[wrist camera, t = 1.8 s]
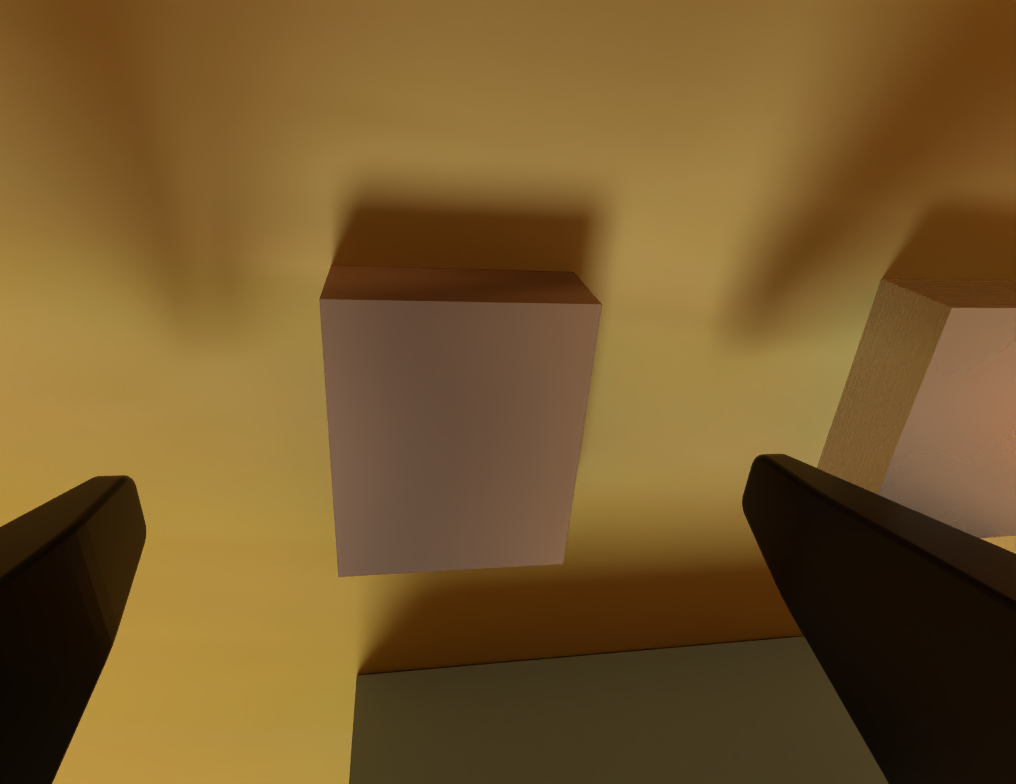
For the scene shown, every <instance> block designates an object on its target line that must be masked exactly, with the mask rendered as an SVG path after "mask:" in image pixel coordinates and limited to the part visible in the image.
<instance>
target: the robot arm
mask: <svg viewBox="0 0 1016 784" xmlns="http://www.w3.org/2000/svg"><path fill="white" fill-rule="evenodd" d="M742 506H743V511H744V514H745V516H746V519H747V521H748V523H749V525H750V528H751V530H752V532H753V534H754V537H755V539H756V541H757V543H758V546H759V548H760V550H761V552H762V555H763V557H764V559H765V561H766V564H767V566H768V568H769V570H770V573H771V575H772V577H773V579H774V582H775V584H776V586H777V588H778V590H779V592H780V594H781V596H782V598H783V600H784V602H785V604H786V605H787V607H788V609H789V611H790V613H791V614H792V616H793V618H794V620H795V621H796V623H797V625H798V627H799V628H800V630H801V632H802V634H803V635H804V637H805V639H806V641H807V642H808V644H809V646H810V647H811V649H812V651H813V653H814V654H815V656H816V658H817V660H818V661H819V663H820V665H821V667H822V668H823V670H824V672H825V674H826V675H827V677H828V679H829V681H830V682H831V684H832V686H833V688H834V689H835V691H836V693H837V695H838V696H839V698H840V700H841V702H842V703H843V705H844V707H845V709H846V710H847V712H848V714H849V715H850V717H851V719H852V721H853V722H854V724H855V726H856V728H857V729H858V731H859V733H860V735H861V736H862V738H863V740H864V742H865V743H866V745H867V747H868V749H869V750H870V752H871V754H872V756H873V757H874V759H875V761H876V763H877V764H878V766H879V768H880V770H881V771H882V773H883V775H884V777H885V778H886V780H887V782H888V784H1016V554H1015V553H1013V552H1010V551H1008V550H1006V549H1003V548H1001V547H999V546H996V545H994V544H992V543H989V542H987V541H985V540H982V539H980V538H978V537H975V536H973V535H971V534H968V533H966V532H964V531H961V530H959V529H957V528H955V527H952V526H950V525H948V524H945V523H943V522H941V521H938V520H936V519H934V518H931V517H929V516H927V515H924V514H922V513H920V512H917V511H915V510H913V509H910V508H908V507H906V506H903V505H901V504H899V503H897V502H894V501H892V500H890V499H887V498H885V497H883V496H880V495H878V494H876V493H873V492H871V491H869V490H866V489H864V488H862V487H859V486H857V485H855V484H852V483H850V482H848V481H845V480H843V479H841V478H838V477H836V476H834V475H832V474H829V473H827V472H825V471H822V470H820V469H818V468H815V467H813V466H811V465H808V464H806V463H804V462H801V461H799V460H797V459H794V458H792V457H790V456H787V455H785V454H762V455H759V456H757V457H756V458H755V459H754V461H753V463H752V466H751V470H750V473H749V477H748V480H747V484H746V487H745V490H744V494H743V499H742ZM145 539H146V524H145V520H144V516H143V512H142V508H141V504H140V500H139V496H138V492H137V488H136V485H135V483H134V481H133V479H132V478H130V477H129V476H125V475H121V476H98V477H94V478H91V479H90V480H88V481H86V482H84V483H82V484H80V485H78V486H76V487H75V488H73V489H71V490H69V491H67V492H65V493H63V494H61V495H60V496H58V497H56V498H54V499H52V500H50V501H48V502H46V503H45V504H43V505H41V506H39V507H37V508H35V509H33V510H31V511H30V512H28V513H26V514H24V515H22V516H20V517H18V518H16V519H15V520H13V521H11V522H9V523H7V524H5V525H3V526H1V527H0V784H52V783H53V780H54V778H55V776H56V774H57V771H58V769H59V767H60V765H61V762H62V760H63V758H64V756H65V753H66V751H67V749H68V747H69V744H70V742H71V740H72V737H73V735H74V733H75V731H76V728H77V726H78V724H79V722H80V719H81V717H82V715H83V713H84V710H85V708H86V706H87V704H88V701H89V699H90V697H91V695H92V692H93V690H94V688H95V686H96V683H97V681H98V679H99V677H100V674H101V672H102V670H103V667H104V665H105V663H106V660H107V658H108V656H109V653H110V651H111V648H112V646H113V643H114V640H115V637H116V634H117V631H118V628H119V625H120V622H121V619H122V615H123V612H124V609H125V606H126V602H127V599H128V596H129V593H130V589H131V586H132V583H133V580H134V576H135V573H136V570H137V567H138V563H139V560H140V557H141V554H142V550H143V547H144V544H145Z"/></svg>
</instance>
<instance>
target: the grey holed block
mask: <svg viewBox="0 0 1016 784" xmlns="http://www.w3.org/2000/svg"><path fill="white" fill-rule="evenodd" d="M349 784H888V782H887V780H886V778H885V777H884V775H883V773H882V771H881V770H880V768H879V766H878V764H877V763H876V761H875V759H874V757H873V756H872V754H871V752H870V750H869V749H868V747H867V745H866V743H865V742H864V740H863V738H862V736H861V735H860V733H859V731H858V729H857V728H856V726H855V724H854V722H853V721H852V719H851V717H850V715H849V714H848V712H847V710H846V709H845V707H844V705H843V703H842V702H841V700H840V698H839V696H838V695H837V693H836V691H835V689H834V688H833V686H832V684H831V682H830V681H829V679H828V677H827V675H826V674H825V672H824V670H823V668H822V667H821V665H820V663H819V661H818V660H817V658H816V656H815V654H814V653H813V651H812V649H811V647H810V646H809V644H808V642H807V641H806V639H805V637H804V636H802V637H791V638H779V639H768V640H757V641H745V642H734V643H722V644H711V645H700V646H688V647H677V648H665V649H654V650H643V651H631V652H620V653H608V654H597V655H586V656H574V657H563V658H551V659H540V660H529V661H517V662H506V663H494V664H483V665H472V666H460V667H449V668H437V669H426V670H415V671H403V672H392V673H380V674H369V675H358V676H357V680H356V694H355V708H354V722H353V736H352V750H351V764H350V778H349Z"/></svg>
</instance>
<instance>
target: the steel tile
mask: <svg viewBox="0 0 1016 784" xmlns="http://www.w3.org/2000/svg"><path fill="white" fill-rule="evenodd" d="M817 468H818V469H820V470H822V471H825V472H827V473H829V474H832V475H834V476H836V477H838V478H841V479H843V480H845V481H848V482H850V483H852V484H855V485H857V486H859V487H862V488H864V489H866V490H869V491H871V492H873V493H876V494H878V495H880V496H883V497H885V498H887V499H890V500H892V501H894V502H897V503H899V504H901V505H903V506H906V507H908V508H910V509H913V510H915V511H917V512H920V513H922V514H924V515H927V516H929V517H931V518H934V519H936V520H938V521H941V522H943V523H945V524H948V525H950V526H952V527H955V528H957V529H959V530H961V531H964V532H966V533H968V534H971V535H973V536H975V537H978V538H987V537H1001V536H1016V281H1003V280H929V279H881V281H880V284H879V287H878V290H877V293H876V296H875V299H874V302H873V305H872V308H871V311H870V314H869V317H868V319H867V322H866V325H865V328H864V331H863V334H862V337H861V340H860V343H859V346H858V349H857V352H856V355H855V358H854V360H853V363H852V366H851V369H850V372H849V375H848V378H847V381H846V384H845V387H844V390H843V393H842V396H841V399H840V402H839V404H838V407H837V410H836V413H835V416H834V419H833V422H832V425H831V428H830V431H829V434H828V437H827V440H826V443H825V446H824V448H823V451H822V454H821V457H820V460H819V463H818V466H817Z"/></svg>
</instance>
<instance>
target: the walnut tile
mask: <svg viewBox="0 0 1016 784" xmlns="http://www.w3.org/2000/svg"><path fill="white" fill-rule="evenodd" d="M601 307H602V304H601V303H600V302H599V301H598V299H597V298H596V297H595V296H594V295H593V294H592V293H591V292H590V290H589V289H588V288H587V287H586V286H585V285H584V284H583V283H582V281H581V280H580V279H579V278H578V277H577V276H576V275H575V273H574V272H548V271H514V270H479V269H445V268H410V267H376V266H341V265H331V268H330V270H329V273H328V276H327V279H326V282H325V285H324V288H323V291H322V293H321V296H320V313H321V328H322V343H323V357H324V372H325V387H326V401H327V416H328V431H329V445H330V460H331V475H332V489H333V504H334V519H335V533H336V548H337V563H338V577H346V576H363V575H381V574H398V573H416V572H433V571H450V570H468V569H485V568H502V567H520V566H537V565H554V564H563V562H564V555H565V549H566V542H567V535H568V528H569V522H570V515H571V508H572V502H573V495H574V488H575V482H576V475H577V468H578V461H579V455H580V448H581V441H582V435H583V428H584V421H585V415H586V408H587V401H588V394H589V388H590V381H591V374H592V368H593V361H594V354H595V347H596V341H597V334H598V327H599V321H600V314H601Z"/></svg>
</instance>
